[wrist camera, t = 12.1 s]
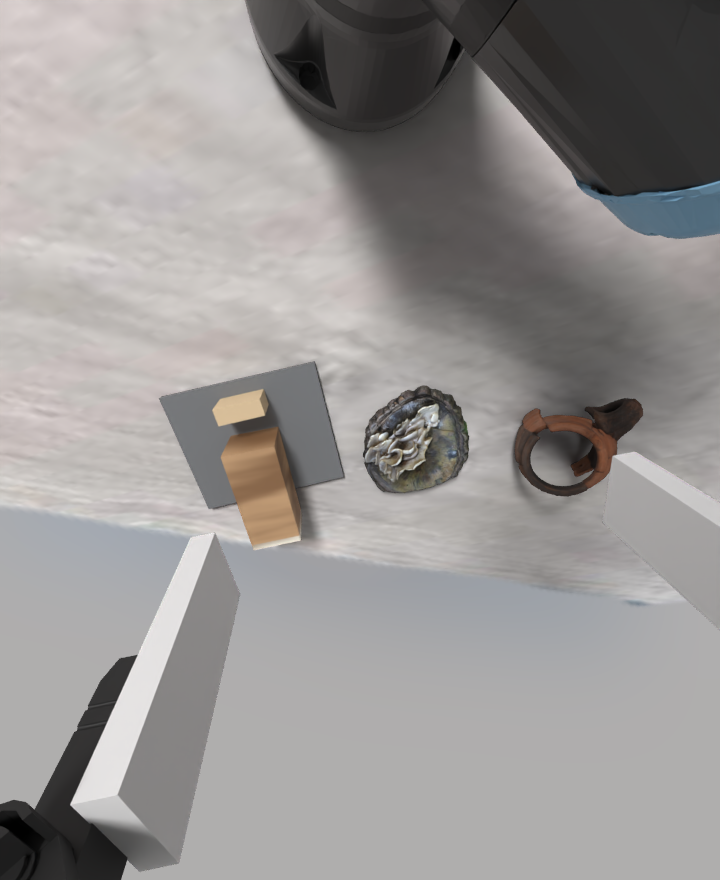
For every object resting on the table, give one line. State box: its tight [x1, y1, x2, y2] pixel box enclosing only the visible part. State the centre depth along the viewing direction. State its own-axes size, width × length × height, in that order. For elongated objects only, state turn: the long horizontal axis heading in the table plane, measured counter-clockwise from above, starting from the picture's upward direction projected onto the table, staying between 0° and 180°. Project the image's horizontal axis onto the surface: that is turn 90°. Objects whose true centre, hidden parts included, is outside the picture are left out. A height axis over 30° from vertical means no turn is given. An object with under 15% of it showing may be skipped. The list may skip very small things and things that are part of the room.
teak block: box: [221, 427, 302, 550], centre depth 36 cm, size 4×4×10 cm
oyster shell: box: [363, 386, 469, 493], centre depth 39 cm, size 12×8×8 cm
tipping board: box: [159, 362, 344, 509], centre depth 35 cm, size 12×14×4 cm
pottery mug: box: [515, 398, 643, 496], centre depth 38 cm, size 12×10×8 cm
